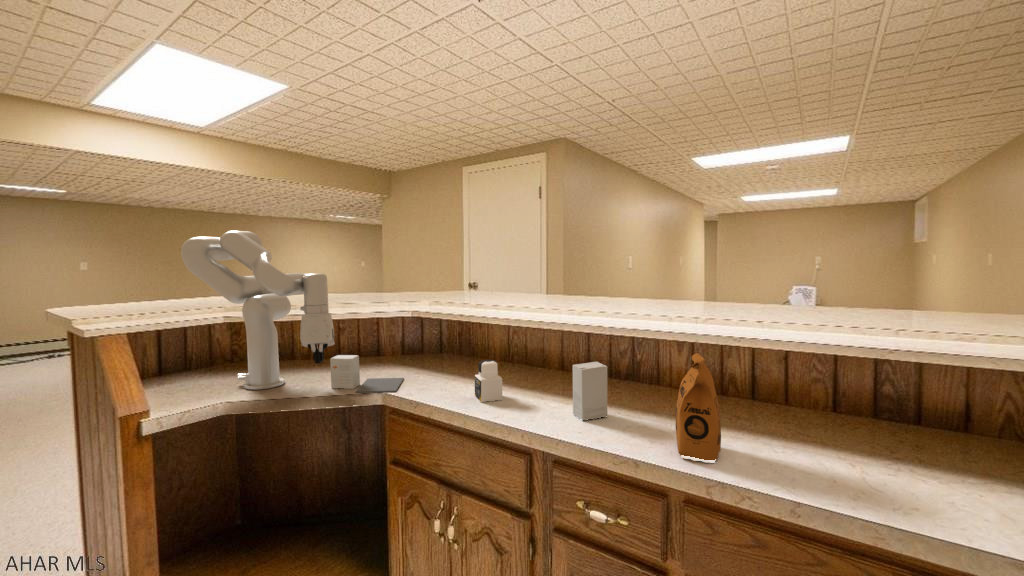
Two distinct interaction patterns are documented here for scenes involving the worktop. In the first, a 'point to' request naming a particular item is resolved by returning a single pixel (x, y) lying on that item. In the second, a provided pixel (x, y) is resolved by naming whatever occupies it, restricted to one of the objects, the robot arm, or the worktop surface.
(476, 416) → the worktop surface
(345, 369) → the small box
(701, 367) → the coffee package
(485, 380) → the medicine bottle
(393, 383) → the mat
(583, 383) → the skincare box
